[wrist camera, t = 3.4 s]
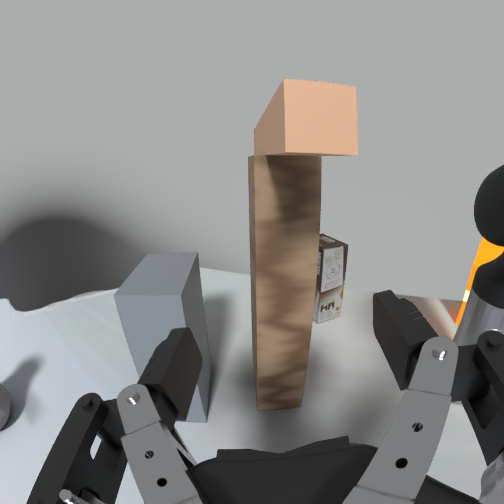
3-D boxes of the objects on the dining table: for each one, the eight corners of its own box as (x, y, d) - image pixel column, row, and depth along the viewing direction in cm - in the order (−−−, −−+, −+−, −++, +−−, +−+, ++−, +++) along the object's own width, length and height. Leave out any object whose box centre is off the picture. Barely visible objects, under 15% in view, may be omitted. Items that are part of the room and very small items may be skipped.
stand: (286, 347, 46) (291, 156, 36) (300, 407, 33) (321, 156, 23) (252, 349, 46) (248, 157, 36) (257, 410, 33) (253, 155, 22)
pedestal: (211, 365, 42) (197, 251, 36) (206, 422, 31) (180, 295, 24) (170, 365, 42) (148, 253, 35) (157, 419, 31) (113, 295, 24)
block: (282, 156, 38) (281, 130, 36) (357, 156, 13) (355, 86, 12) (254, 156, 38) (253, 130, 36) (285, 152, 13) (283, 78, 12)
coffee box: (341, 316, 55) (350, 244, 50) (317, 324, 53) (324, 249, 48) (317, 298, 63) (322, 232, 58) (294, 304, 61) (298, 236, 56)
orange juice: (483, 339, 39) (511, 251, 33) (454, 323, 47) (477, 238, 40) (492, 326, 42) (516, 245, 36) (466, 312, 50) (486, 234, 43)
